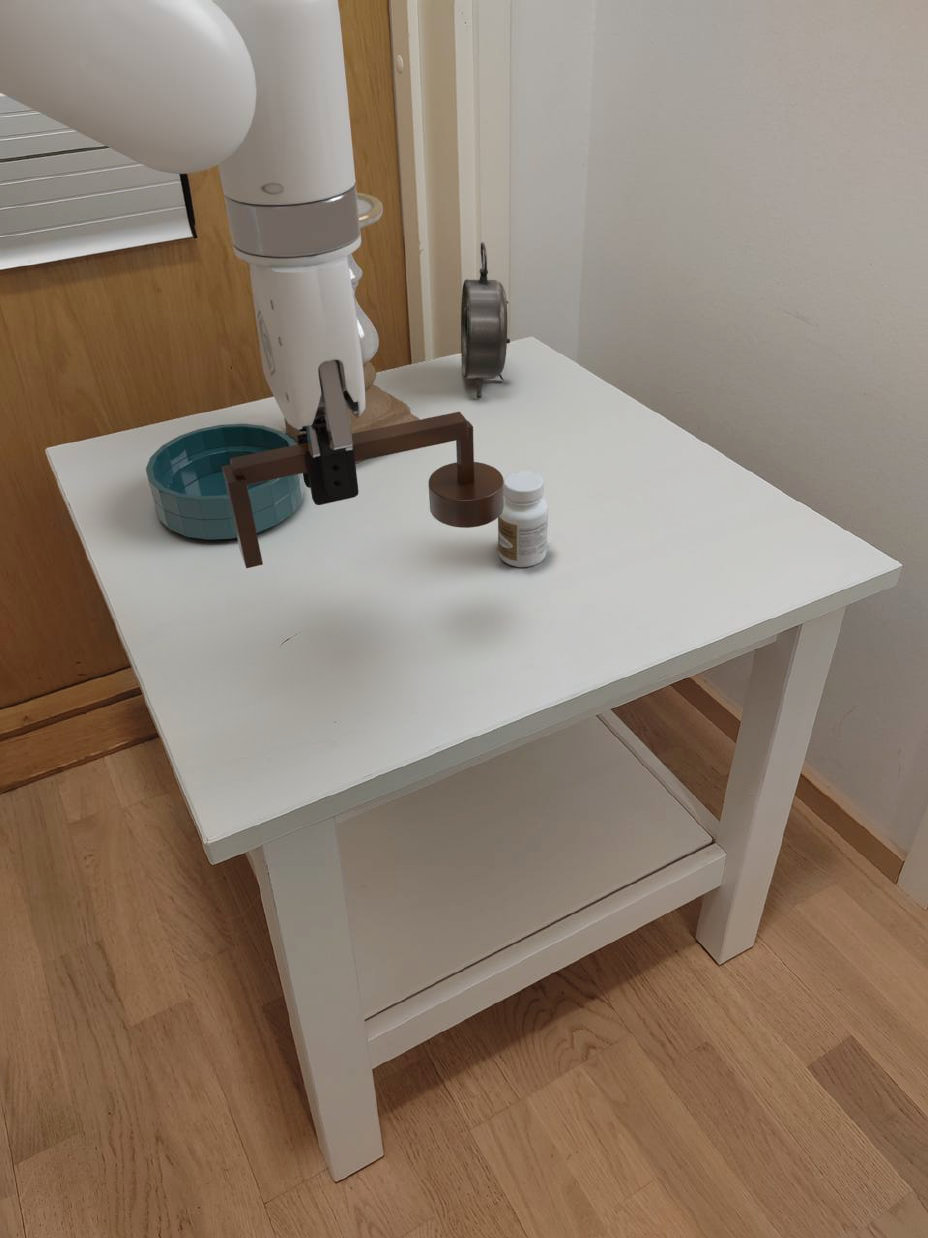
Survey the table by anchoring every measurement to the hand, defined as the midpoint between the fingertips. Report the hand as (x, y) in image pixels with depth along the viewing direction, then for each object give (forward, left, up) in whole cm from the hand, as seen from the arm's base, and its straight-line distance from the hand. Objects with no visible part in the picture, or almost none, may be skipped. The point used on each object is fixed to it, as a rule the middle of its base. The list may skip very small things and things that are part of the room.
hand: (331, 489), depth 67 cm
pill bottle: (+18, +7, -15) cm, 25 cm away
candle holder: (+10, +35, -15) cm, 39 cm away
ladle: (+3, 0, -4) cm, 5 cm away
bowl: (-5, +26, -15) cm, 30 cm away
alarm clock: (+28, +41, -15) cm, 52 cm away
